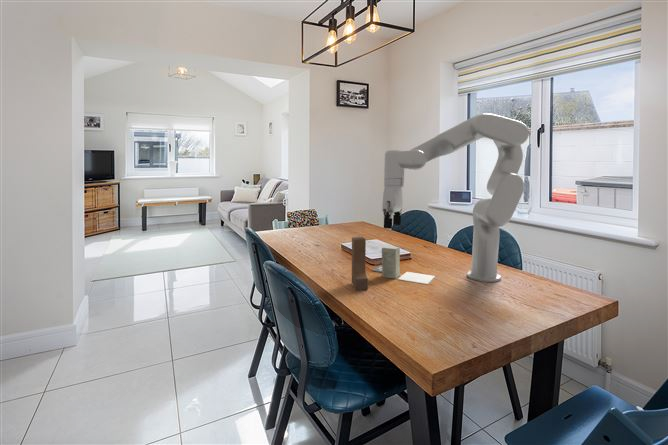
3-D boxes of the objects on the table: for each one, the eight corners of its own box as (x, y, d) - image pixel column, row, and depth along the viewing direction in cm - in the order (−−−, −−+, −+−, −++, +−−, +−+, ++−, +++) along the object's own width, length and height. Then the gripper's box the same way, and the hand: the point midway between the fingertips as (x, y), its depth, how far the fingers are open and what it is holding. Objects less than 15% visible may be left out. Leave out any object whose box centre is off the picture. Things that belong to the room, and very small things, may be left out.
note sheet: (406, 272, 152) (406, 271, 152) (435, 276, 146) (435, 276, 146) (397, 279, 142) (397, 278, 142) (427, 284, 136) (427, 283, 136)
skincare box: (400, 276, 147) (400, 247, 145) (395, 279, 143) (396, 249, 141) (385, 273, 150) (385, 245, 148) (381, 276, 146) (381, 247, 144)
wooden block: (367, 290, 130) (368, 241, 127) (355, 291, 130) (355, 242, 127) (363, 282, 139) (363, 236, 136) (351, 283, 139) (351, 237, 136)
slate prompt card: (379, 266, 161) (379, 265, 161) (390, 268, 158) (390, 267, 158) (372, 271, 154) (372, 270, 154) (382, 272, 151) (382, 271, 151)
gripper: (392, 181, 148) (391, 222, 151) (375, 183, 134) (374, 229, 136) (410, 182, 145) (408, 224, 147) (395, 184, 130) (393, 230, 133)
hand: (392, 226), depth 142 cm, fingers open, 9 cm apart
